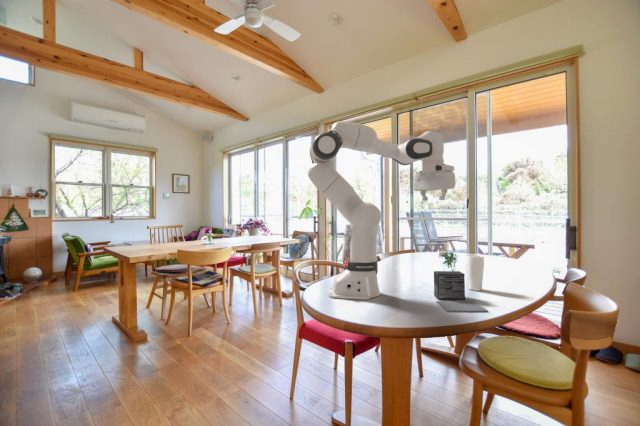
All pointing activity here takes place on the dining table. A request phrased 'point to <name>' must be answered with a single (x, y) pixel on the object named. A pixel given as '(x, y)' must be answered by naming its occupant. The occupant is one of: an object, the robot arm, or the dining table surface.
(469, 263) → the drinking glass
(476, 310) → the mat
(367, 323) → the dining table surface
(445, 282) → the small box
